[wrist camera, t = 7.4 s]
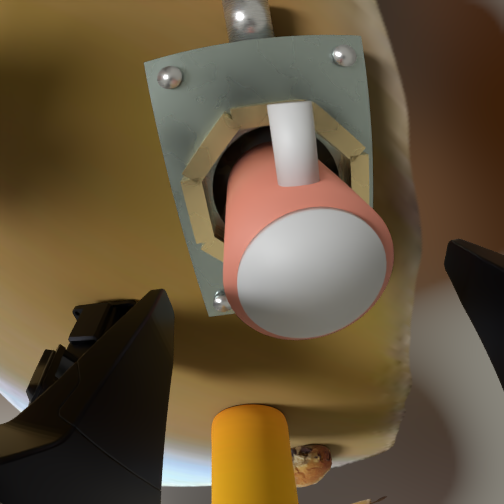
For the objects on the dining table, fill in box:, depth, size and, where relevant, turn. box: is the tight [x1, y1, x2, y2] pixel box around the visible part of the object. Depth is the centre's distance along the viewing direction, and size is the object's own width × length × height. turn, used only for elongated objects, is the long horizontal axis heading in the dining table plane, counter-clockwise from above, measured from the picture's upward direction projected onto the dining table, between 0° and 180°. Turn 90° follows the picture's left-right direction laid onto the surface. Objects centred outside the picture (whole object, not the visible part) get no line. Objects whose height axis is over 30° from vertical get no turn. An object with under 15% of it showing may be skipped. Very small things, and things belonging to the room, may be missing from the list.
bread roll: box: [291, 445, 332, 487], centre depth 39 cm, size 10×10×8 cm
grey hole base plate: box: [144, 0, 373, 317], centre depth 16 cm, size 19×11×4 cm, turn 9°
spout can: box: [223, 101, 394, 340], centre depth 11 cm, size 7×5×8 cm
